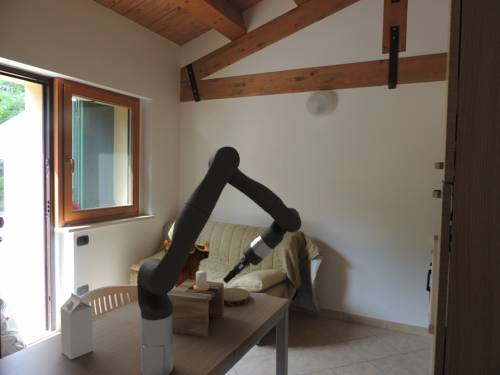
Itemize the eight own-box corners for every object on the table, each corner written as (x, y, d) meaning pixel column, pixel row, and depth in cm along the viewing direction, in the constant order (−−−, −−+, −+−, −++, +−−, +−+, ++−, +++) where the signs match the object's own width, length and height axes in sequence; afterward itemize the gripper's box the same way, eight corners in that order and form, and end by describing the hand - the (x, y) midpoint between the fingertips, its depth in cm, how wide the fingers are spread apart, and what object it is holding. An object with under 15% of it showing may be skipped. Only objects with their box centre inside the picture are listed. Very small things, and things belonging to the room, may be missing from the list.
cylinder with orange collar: (210, 314, 131) (210, 273, 130) (195, 317, 129) (195, 275, 128) (207, 308, 136) (207, 269, 135) (192, 310, 134) (192, 270, 133)
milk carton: (83, 344, 117) (82, 289, 116) (93, 351, 112) (92, 294, 111) (61, 352, 111) (60, 295, 110) (70, 360, 107) (69, 301, 106)
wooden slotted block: (207, 337, 122) (207, 298, 122) (166, 331, 126) (166, 294, 126) (223, 316, 140) (223, 282, 139) (187, 312, 144) (187, 279, 143)
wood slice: (243, 309, 148) (243, 302, 148) (209, 304, 153) (209, 297, 153) (254, 296, 163) (254, 290, 163) (223, 292, 168) (223, 286, 168)
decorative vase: (204, 306, 149) (201, 242, 148) (156, 304, 154) (153, 242, 153) (218, 289, 170) (216, 234, 168) (175, 288, 174) (172, 234, 173)
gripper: (256, 238, 132) (227, 265, 136) (246, 246, 119) (215, 275, 122) (269, 253, 131) (240, 279, 135) (261, 262, 118) (229, 291, 121)
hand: (228, 277), depth 128 cm, fingers open, 8 cm apart
